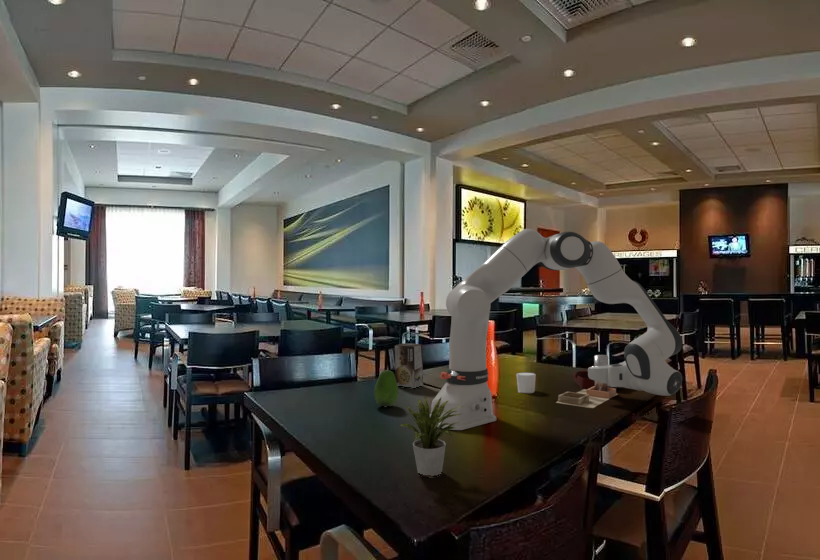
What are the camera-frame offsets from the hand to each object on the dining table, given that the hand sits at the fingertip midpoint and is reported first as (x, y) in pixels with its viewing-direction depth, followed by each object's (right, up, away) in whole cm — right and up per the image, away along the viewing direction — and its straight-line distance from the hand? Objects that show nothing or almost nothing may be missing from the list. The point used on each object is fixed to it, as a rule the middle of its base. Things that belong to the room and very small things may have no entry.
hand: (599, 367), depth 173 cm
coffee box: (-65, -11, +21) cm, 69 cm away
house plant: (-61, -11, -67) cm, 91 cm away
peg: (0, -8, -1) cm, 8 cm away
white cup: (-24, -10, +6) cm, 27 cm away
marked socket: (0, -10, -1) cm, 10 cm away
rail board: (-6, -10, -5) cm, 12 cm away
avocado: (-73, -11, -10) cm, 74 cm away
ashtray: (+4, -10, +14) cm, 18 cm away
